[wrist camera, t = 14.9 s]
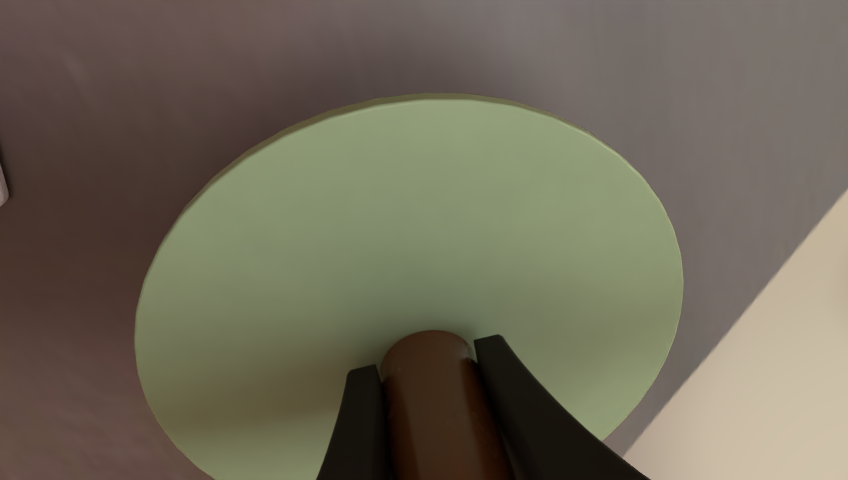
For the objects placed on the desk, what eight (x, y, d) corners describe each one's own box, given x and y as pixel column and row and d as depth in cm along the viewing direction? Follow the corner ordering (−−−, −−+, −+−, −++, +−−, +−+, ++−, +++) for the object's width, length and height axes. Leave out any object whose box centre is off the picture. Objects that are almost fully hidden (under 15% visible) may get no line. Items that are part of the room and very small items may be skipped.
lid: (182, 506, 16) (126, 732, 12) (95, 55, 9) (-121, 177, 5) (584, 477, 19) (665, 652, 14) (743, 107, 12) (992, 218, 7)
